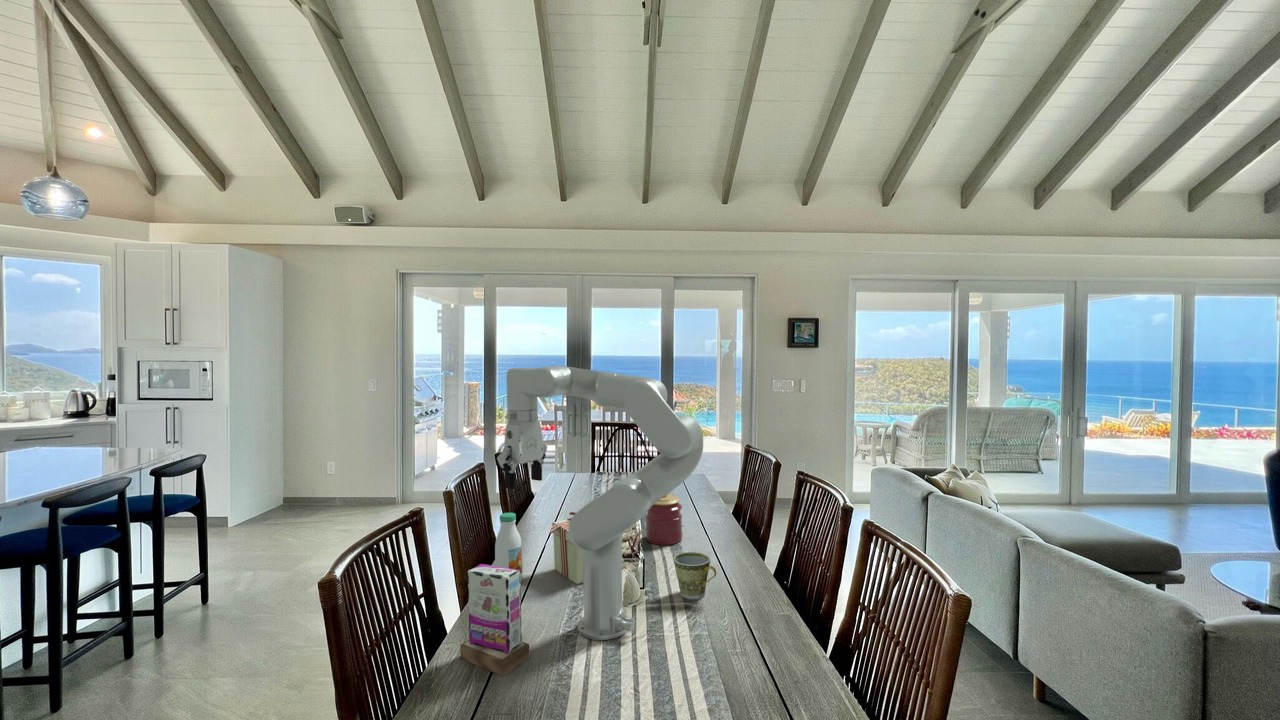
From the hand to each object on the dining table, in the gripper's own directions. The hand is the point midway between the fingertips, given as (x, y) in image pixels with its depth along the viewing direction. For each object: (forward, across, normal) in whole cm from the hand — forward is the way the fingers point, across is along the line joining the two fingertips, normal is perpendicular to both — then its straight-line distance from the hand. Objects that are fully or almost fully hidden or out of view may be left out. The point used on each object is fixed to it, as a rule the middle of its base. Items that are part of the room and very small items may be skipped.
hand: (524, 484), depth 140 cm
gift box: (+34, +30, +4) cm, 46 cm away
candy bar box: (+31, -17, -6) cm, 36 cm away
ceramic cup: (+34, +32, -33) cm, 57 cm away
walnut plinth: (+34, -17, -6) cm, 39 cm away
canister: (+34, +68, -4) cm, 76 cm away
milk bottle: (+34, +15, +20) cm, 42 cm away
